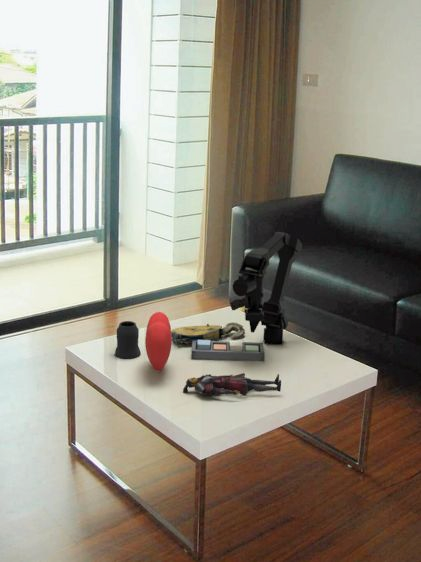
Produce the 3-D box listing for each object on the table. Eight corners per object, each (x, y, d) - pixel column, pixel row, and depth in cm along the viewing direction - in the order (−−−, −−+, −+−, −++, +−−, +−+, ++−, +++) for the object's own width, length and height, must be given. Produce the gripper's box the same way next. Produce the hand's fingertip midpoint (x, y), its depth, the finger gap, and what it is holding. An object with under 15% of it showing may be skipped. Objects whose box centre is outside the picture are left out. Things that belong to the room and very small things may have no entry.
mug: (141, 358, 253) (142, 328, 250) (115, 359, 252) (114, 328, 249) (139, 345, 265) (139, 316, 261) (113, 346, 263) (113, 316, 260)
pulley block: (251, 325, 270) (171, 332, 261) (251, 341, 270) (171, 348, 262) (238, 318, 283) (162, 324, 274) (239, 333, 284) (162, 339, 275)
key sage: (257, 352, 261) (258, 345, 260) (258, 356, 257) (258, 350, 256) (245, 351, 261) (245, 345, 260) (245, 356, 257) (245, 350, 256)
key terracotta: (225, 350, 261) (226, 344, 260) (226, 355, 257) (226, 349, 256) (213, 350, 261) (213, 344, 260) (213, 355, 257) (213, 348, 256)
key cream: (241, 347, 261) (242, 341, 260) (242, 352, 256) (242, 345, 256) (229, 347, 261) (229, 340, 260) (229, 351, 256) (229, 345, 256)
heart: (146, 359, 253) (146, 307, 248) (171, 359, 254) (172, 307, 248) (143, 383, 234) (144, 328, 229) (171, 384, 235) (172, 328, 229)
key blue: (210, 346, 261) (210, 340, 260) (210, 351, 256) (210, 344, 256) (197, 346, 261) (197, 339, 260) (197, 350, 256) (197, 344, 256)
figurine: (283, 386, 224) (183, 384, 222) (281, 403, 225) (183, 401, 223) (277, 369, 236) (183, 367, 234) (275, 385, 237) (182, 383, 236)
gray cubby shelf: (262, 350, 264) (262, 342, 263) (264, 361, 254) (264, 353, 253) (192, 348, 264) (192, 340, 263) (191, 359, 254) (191, 351, 253)
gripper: (230, 280, 261) (228, 322, 265) (231, 296, 243) (229, 341, 247) (262, 281, 261) (259, 323, 265) (265, 297, 243) (262, 342, 247)
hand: (252, 332), depth 256 cm, fingers closed
